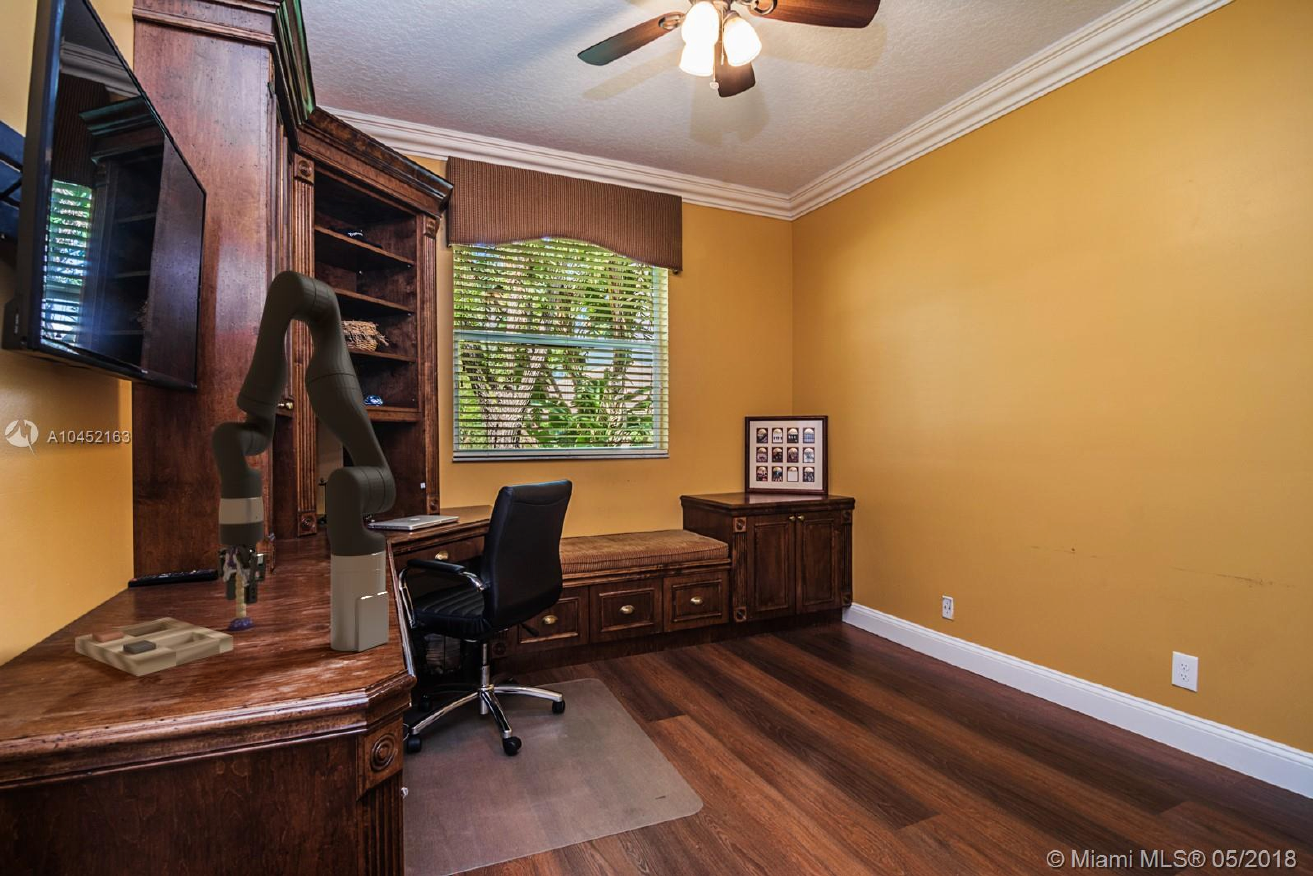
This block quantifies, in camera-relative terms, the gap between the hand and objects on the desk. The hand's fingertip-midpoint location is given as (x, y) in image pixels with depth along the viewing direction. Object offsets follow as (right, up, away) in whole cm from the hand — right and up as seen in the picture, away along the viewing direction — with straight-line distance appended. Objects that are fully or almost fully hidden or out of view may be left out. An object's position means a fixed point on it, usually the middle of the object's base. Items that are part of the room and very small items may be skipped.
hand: (241, 601), depth 122 cm
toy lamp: (0, -5, 0) cm, 5 cm away
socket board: (-6, -5, -14) cm, 16 cm away
